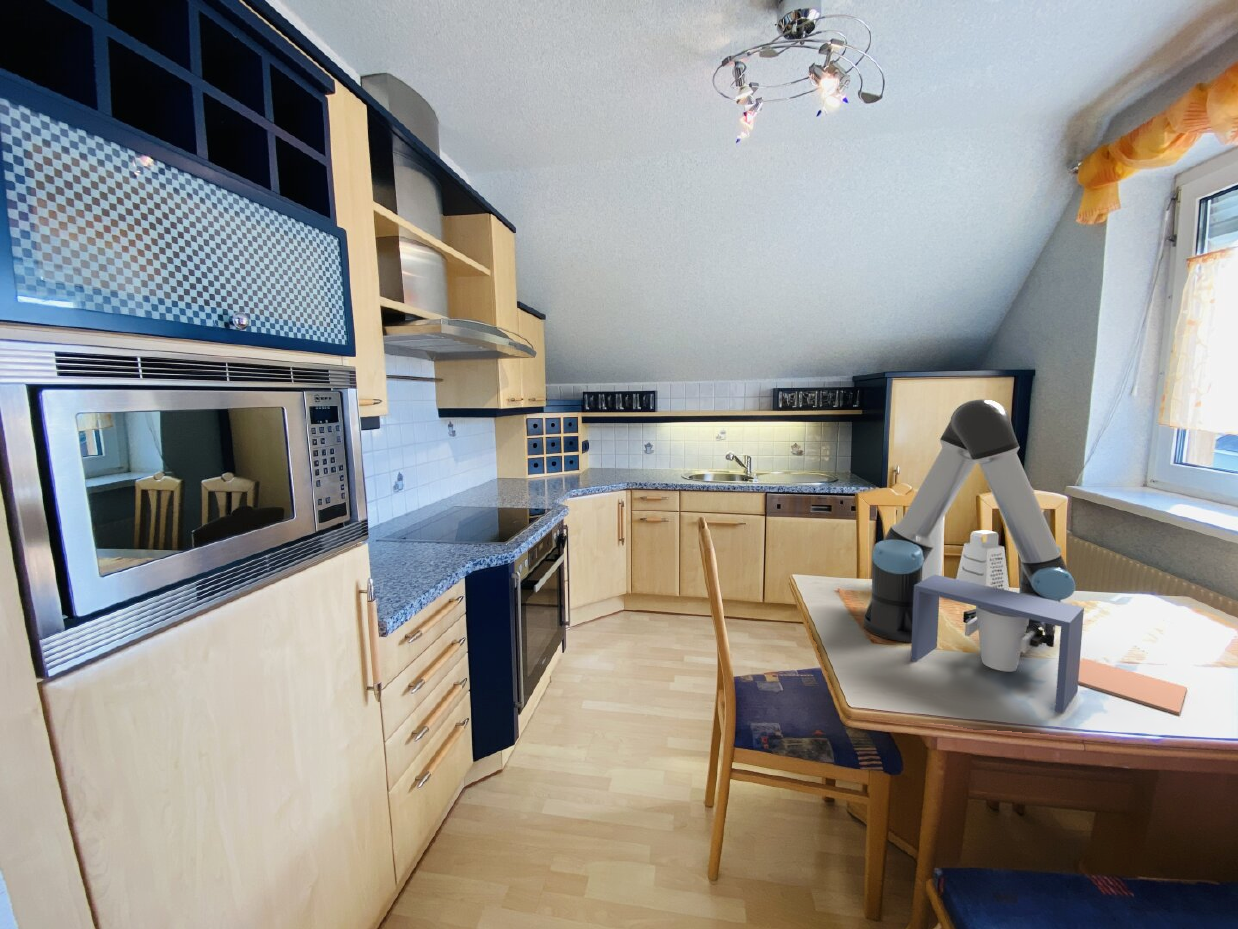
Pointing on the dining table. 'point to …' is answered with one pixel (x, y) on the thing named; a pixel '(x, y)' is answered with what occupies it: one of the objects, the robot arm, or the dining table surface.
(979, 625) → the foam cup
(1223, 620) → the dining table surface
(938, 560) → the tall pillar cylinder
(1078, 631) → the rectangular arch
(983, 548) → the grater
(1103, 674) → the mat
